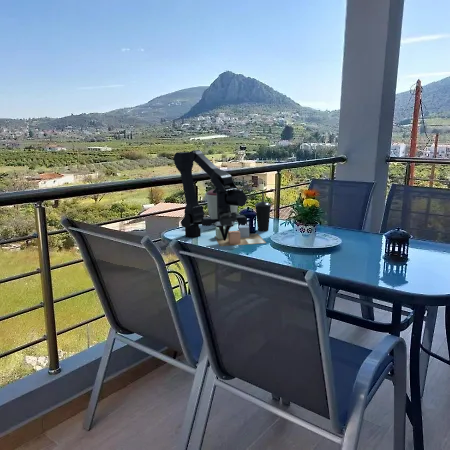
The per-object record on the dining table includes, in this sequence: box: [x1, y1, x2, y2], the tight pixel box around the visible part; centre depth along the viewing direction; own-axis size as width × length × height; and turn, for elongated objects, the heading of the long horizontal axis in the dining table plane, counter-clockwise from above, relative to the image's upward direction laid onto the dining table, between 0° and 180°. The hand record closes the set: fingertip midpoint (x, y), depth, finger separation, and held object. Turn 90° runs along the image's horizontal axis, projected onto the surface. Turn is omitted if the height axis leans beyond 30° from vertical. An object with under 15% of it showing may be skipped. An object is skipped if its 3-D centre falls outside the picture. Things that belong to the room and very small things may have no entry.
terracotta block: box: [228, 230, 241, 244], centre depth 173 cm, size 4×4×4 cm
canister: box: [204, 189, 239, 226], centre depth 212 cm, size 18×18×21 cm
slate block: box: [238, 224, 250, 237], centre depth 183 cm, size 4×4×4 cm
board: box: [214, 233, 267, 247], centre depth 178 cm, size 20×17×1 cm
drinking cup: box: [254, 190, 272, 232], centre depth 191 cm, size 8×8×20 cm
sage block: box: [215, 226, 228, 239], centre depth 181 cm, size 4×4×4 cm
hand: (224, 240), depth 172 cm, fingers closed
